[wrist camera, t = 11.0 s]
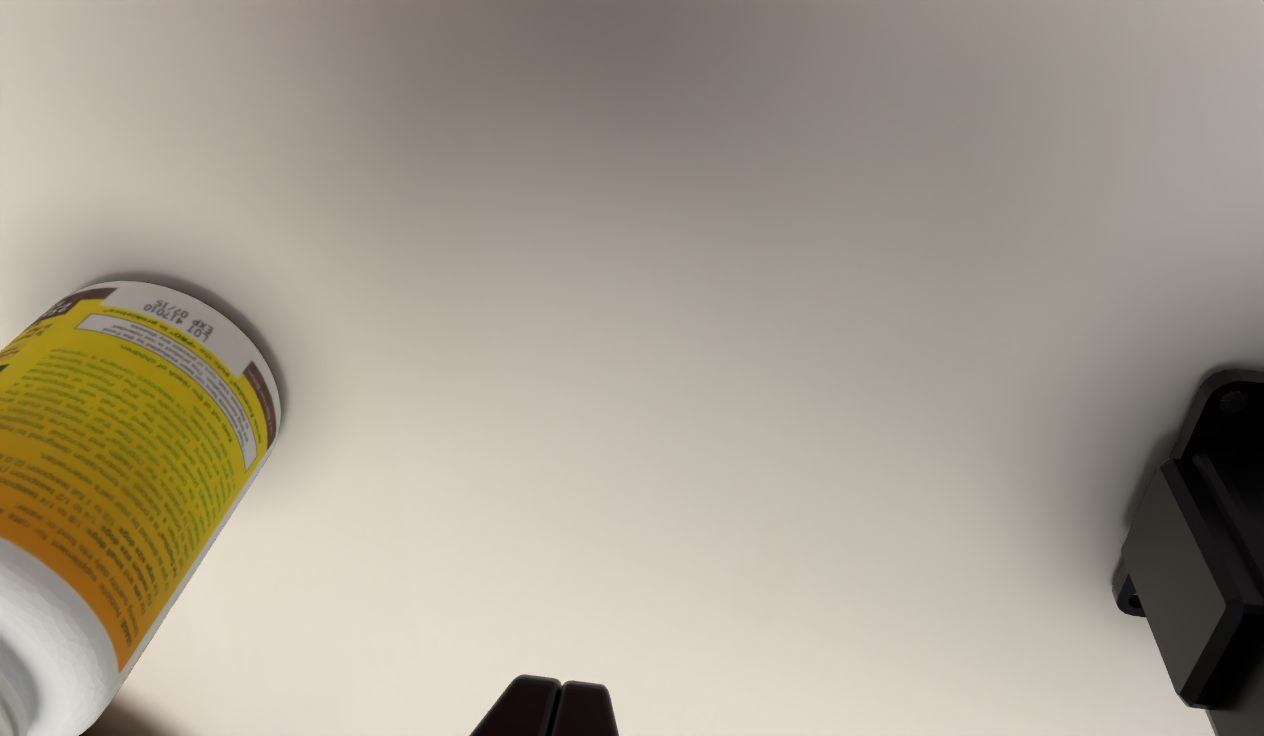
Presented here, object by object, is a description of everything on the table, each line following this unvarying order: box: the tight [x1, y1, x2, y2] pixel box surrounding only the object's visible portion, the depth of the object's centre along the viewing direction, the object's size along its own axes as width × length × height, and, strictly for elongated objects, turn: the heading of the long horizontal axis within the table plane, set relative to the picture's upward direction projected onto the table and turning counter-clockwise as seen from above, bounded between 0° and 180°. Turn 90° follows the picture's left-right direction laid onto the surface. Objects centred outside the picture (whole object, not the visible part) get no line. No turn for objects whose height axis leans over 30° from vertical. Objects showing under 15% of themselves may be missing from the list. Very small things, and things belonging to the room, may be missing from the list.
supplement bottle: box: [0, 281, 281, 736], centre depth 19 cm, size 6×6×10 cm
